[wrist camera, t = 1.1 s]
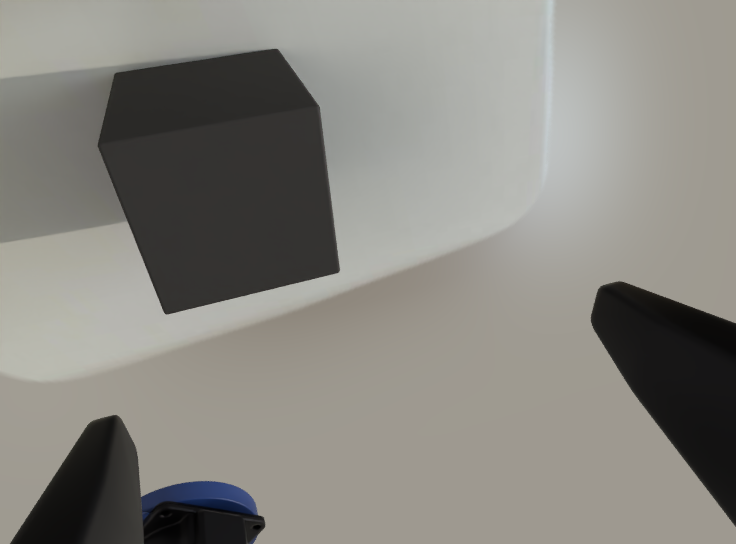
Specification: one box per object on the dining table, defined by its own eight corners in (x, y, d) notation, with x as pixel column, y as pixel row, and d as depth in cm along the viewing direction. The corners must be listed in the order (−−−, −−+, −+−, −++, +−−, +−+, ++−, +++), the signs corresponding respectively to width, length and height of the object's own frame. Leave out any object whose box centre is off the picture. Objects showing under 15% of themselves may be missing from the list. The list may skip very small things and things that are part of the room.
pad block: (300, 187, 19) (340, 273, 15) (163, 215, 18) (164, 316, 14) (278, 47, 16) (319, 104, 12) (113, 72, 15) (96, 144, 11)
